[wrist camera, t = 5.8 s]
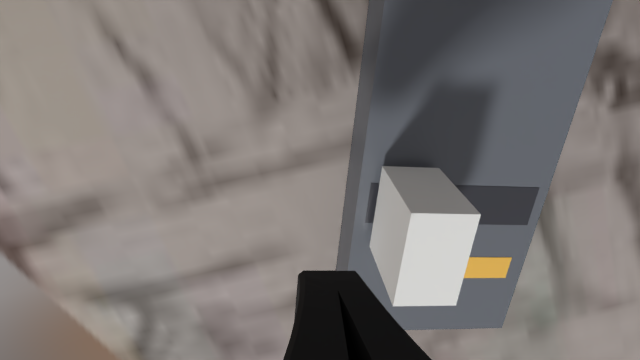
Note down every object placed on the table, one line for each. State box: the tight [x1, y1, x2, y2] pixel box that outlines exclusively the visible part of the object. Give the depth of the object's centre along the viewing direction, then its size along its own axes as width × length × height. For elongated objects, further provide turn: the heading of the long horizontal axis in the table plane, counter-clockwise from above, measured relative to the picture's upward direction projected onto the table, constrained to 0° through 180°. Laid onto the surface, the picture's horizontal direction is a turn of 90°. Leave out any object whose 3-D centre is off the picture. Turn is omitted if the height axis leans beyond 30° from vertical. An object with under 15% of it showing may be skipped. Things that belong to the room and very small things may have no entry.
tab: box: [370, 166, 481, 306], centre depth 14 cm, size 2×3×3 cm, turn 175°
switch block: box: [336, 0, 613, 330], centre depth 15 cm, size 7×22×2 cm, turn 175°
